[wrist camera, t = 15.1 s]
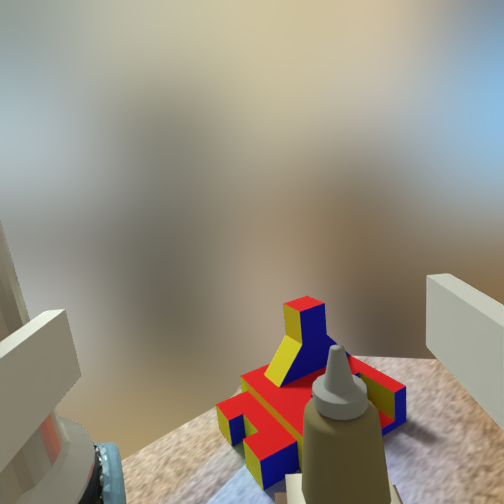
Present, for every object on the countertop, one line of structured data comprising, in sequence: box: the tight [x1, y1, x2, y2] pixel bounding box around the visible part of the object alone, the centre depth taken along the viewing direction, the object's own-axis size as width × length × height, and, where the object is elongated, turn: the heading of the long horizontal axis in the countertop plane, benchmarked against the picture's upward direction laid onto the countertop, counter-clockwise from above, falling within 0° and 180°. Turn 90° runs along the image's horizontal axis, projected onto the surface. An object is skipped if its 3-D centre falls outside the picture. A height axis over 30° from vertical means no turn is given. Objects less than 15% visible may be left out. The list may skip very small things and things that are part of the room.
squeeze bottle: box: [301, 345, 391, 504], centre depth 32 cm, size 8×8×18 cm
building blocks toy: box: [216, 296, 406, 490], centre depth 57 cm, size 19×25×18 cm
